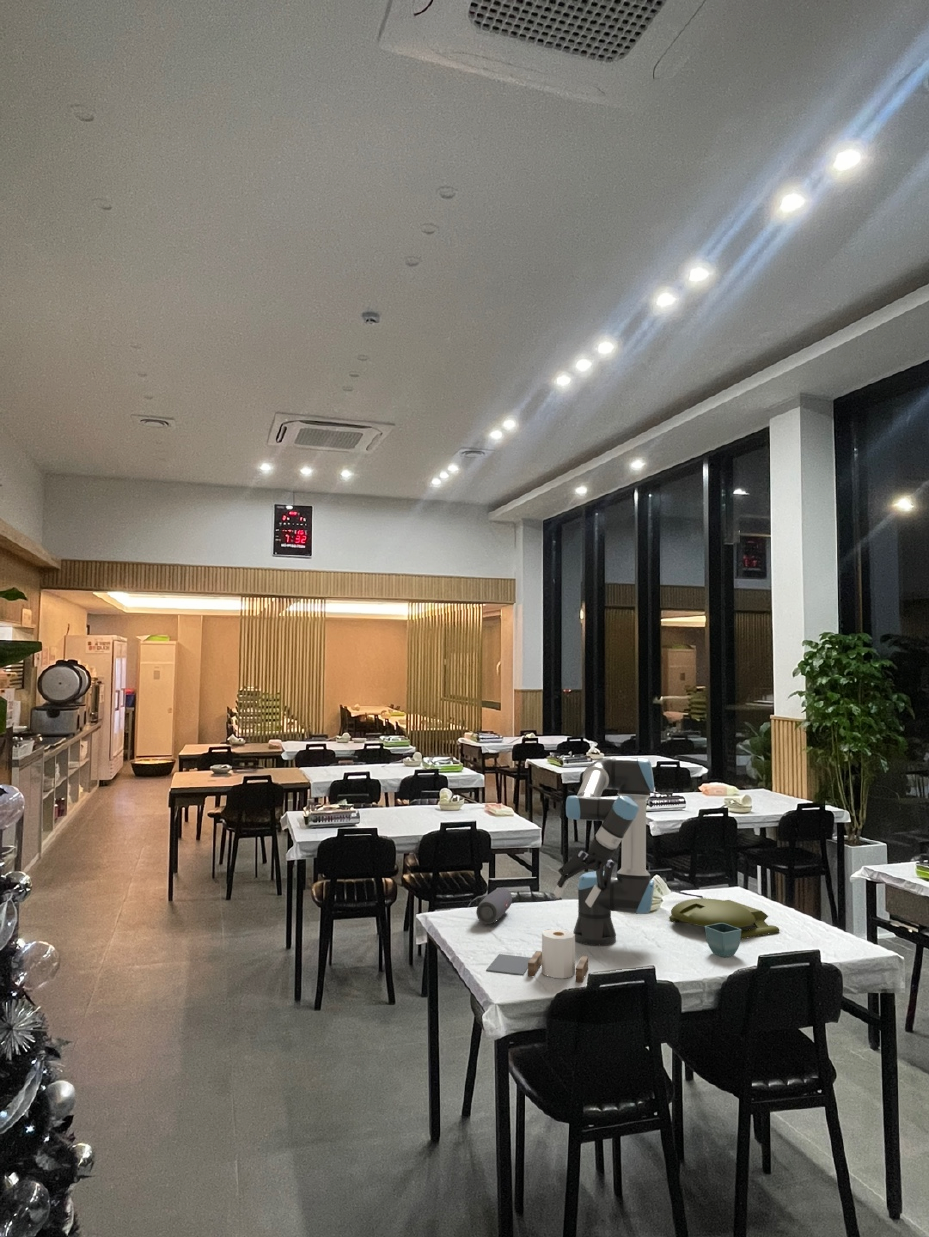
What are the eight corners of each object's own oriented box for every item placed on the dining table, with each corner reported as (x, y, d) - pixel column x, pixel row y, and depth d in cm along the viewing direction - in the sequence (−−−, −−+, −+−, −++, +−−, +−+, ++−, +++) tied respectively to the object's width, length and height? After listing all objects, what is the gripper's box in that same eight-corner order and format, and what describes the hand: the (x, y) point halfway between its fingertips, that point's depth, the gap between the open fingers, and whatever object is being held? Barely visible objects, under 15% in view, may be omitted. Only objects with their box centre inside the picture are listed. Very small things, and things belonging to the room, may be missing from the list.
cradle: (536, 963, 265) (536, 950, 265) (588, 969, 260) (588, 956, 260) (527, 975, 253) (527, 962, 254) (582, 982, 248) (582, 968, 249)
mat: (499, 955, 273) (499, 953, 273) (534, 958, 269) (534, 957, 269) (486, 970, 257) (486, 969, 258) (523, 975, 254) (523, 973, 254)
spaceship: (723, 912, 329) (722, 887, 330) (782, 933, 302) (782, 906, 303) (654, 922, 314) (654, 896, 315) (710, 945, 287) (709, 917, 288)
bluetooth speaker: (498, 928, 302) (498, 901, 303) (474, 926, 305) (475, 898, 306) (513, 912, 324) (514, 887, 325) (491, 910, 327) (491, 885, 328)
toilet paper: (569, 966, 262) (570, 928, 263) (578, 978, 252) (578, 938, 253) (539, 967, 261) (539, 928, 262) (546, 979, 251) (546, 938, 252)
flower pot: (723, 960, 270) (723, 932, 271) (704, 952, 278) (703, 925, 279) (742, 956, 274) (742, 929, 275) (722, 948, 282) (722, 922, 283)
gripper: (582, 840, 243) (547, 899, 245) (640, 859, 255) (606, 915, 257) (569, 826, 250) (536, 884, 252) (626, 845, 261) (594, 900, 264)
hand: (572, 900), depth 255 cm, fingers open, 13 cm apart
